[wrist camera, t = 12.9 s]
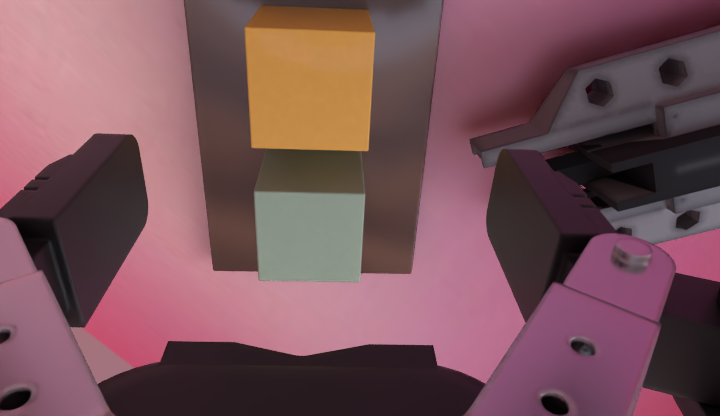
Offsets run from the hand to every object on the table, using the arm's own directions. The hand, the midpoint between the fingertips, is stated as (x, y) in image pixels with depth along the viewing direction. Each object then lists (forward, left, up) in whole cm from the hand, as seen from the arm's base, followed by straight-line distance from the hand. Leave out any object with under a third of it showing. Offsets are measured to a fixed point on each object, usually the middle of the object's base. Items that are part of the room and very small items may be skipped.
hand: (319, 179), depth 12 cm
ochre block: (+1, -1, -13) cm, 13 cm away
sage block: (+7, -1, -13) cm, 15 cm away
